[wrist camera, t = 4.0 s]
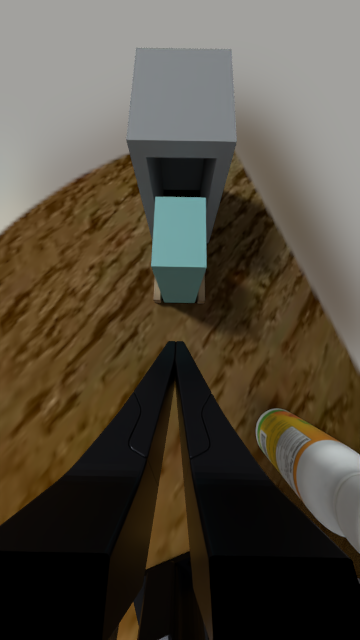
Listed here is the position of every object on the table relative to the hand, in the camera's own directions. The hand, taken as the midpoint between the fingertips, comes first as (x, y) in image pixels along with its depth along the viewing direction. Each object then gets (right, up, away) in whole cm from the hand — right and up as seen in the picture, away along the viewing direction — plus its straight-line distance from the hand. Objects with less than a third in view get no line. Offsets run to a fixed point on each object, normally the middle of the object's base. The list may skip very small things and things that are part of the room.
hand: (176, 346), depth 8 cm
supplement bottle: (+11, -11, +9) cm, 19 cm away
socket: (0, +18, +14) cm, 22 cm away
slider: (0, +8, +12) cm, 14 cm away
